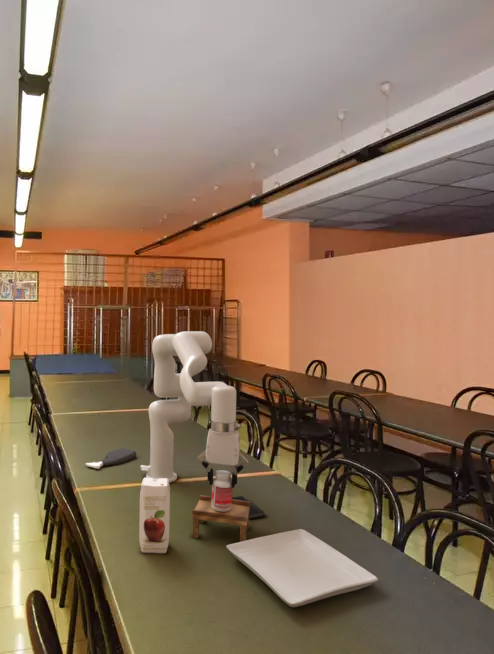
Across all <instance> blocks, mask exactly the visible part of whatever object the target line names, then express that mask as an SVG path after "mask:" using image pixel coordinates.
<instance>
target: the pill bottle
mask: <svg viewBox="0 0 494 654" xmlns="http://www.w3.org/2000/svg"><path fill="white" fill-rule="evenodd" d="M214 476H215V477H213V482H212V485H211V497H212V498H211V507H212V508H213V509H214V510H216V511H219V512H227V511H229V510H230V509H231V501H232V497H233V488H232V473H231V471H228V470H224V469H220V470H219V469H217V470H216V471H215V475H214Z"/></svg>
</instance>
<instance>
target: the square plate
mask: <svg viewBox="0 0 494 654" xmlns="http://www.w3.org/2000/svg"><path fill="white" fill-rule="evenodd" d="M225 546H226V549H227V550H228V551H229V552H230V553H231V554H232V555H233V556H234V557H235V558H236V559H237V560H238V561H239V562H240V563H241V564H243V565H244V566H245V567H247V569H248V570H249V571H251V572H252V573H253V574H254V575H256V577H258V578H259V579H260V580H261V581H262V582H263V583H264V584H265V585H267V586H268V588H270V589H271V590H272V592H273V593H274V594H276V595H277V597H279V598H280V599H281V600H282V601H283V602H284V603H285V604H286V605H288V606H289V607H291V608H298V607H302V606H305V605H308V604H311V603H315V602H317V601H320V600H325V599H327V598H331V597H334V596H338V595H342V594H346V593H350V592H354V591H358V590H361V589H364V588H366V587H370V586H371V585H374V584H375V583H377V582H379V578H378V577H377V575H375V574H373V573H371V572H370V571H368V570H367V569H365V568H364V567H363V566H361V565H359V564H358V563H357V562H355V561H353V560H352V559H351V558H349V557H348V556H346V555H344V554H343V553H341V551H339V550H337V549H335V548H334V547H332V546H331V545H330V544H328V543H326V542H325V541H324V540H321V539H320V538H319V537H316V536H315V535H313V534H312V533H310V532H308V531H307V530H305V529H302V528H298V529H294V530H288V531H283V532H278V533H274V534H269V535H265V536H264V535H263V536H260V537H254V538H251V539H246V541H242V542H240V541H239V542H235V543H230V544H227V545H225Z"/></svg>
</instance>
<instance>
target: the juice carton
mask: <svg viewBox="0 0 494 654" xmlns="http://www.w3.org/2000/svg"><path fill="white" fill-rule="evenodd" d="M139 491H140V493H139V524H138V525H139V526H138V527H139V528H138V531H139V533H138V542H139V548H140V550H141V553H144V554H145V553H146V554H151V553H154V554H166V553H167V550H168V547H169V543H170V519H171V518H170V517H171V515H170V514H171V513H170V512H171V487H170V483H169V480H168V479H167V478H159V479H153V478H146V476H144V478H143V479H142V481H141V485H140V490H139Z"/></svg>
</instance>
